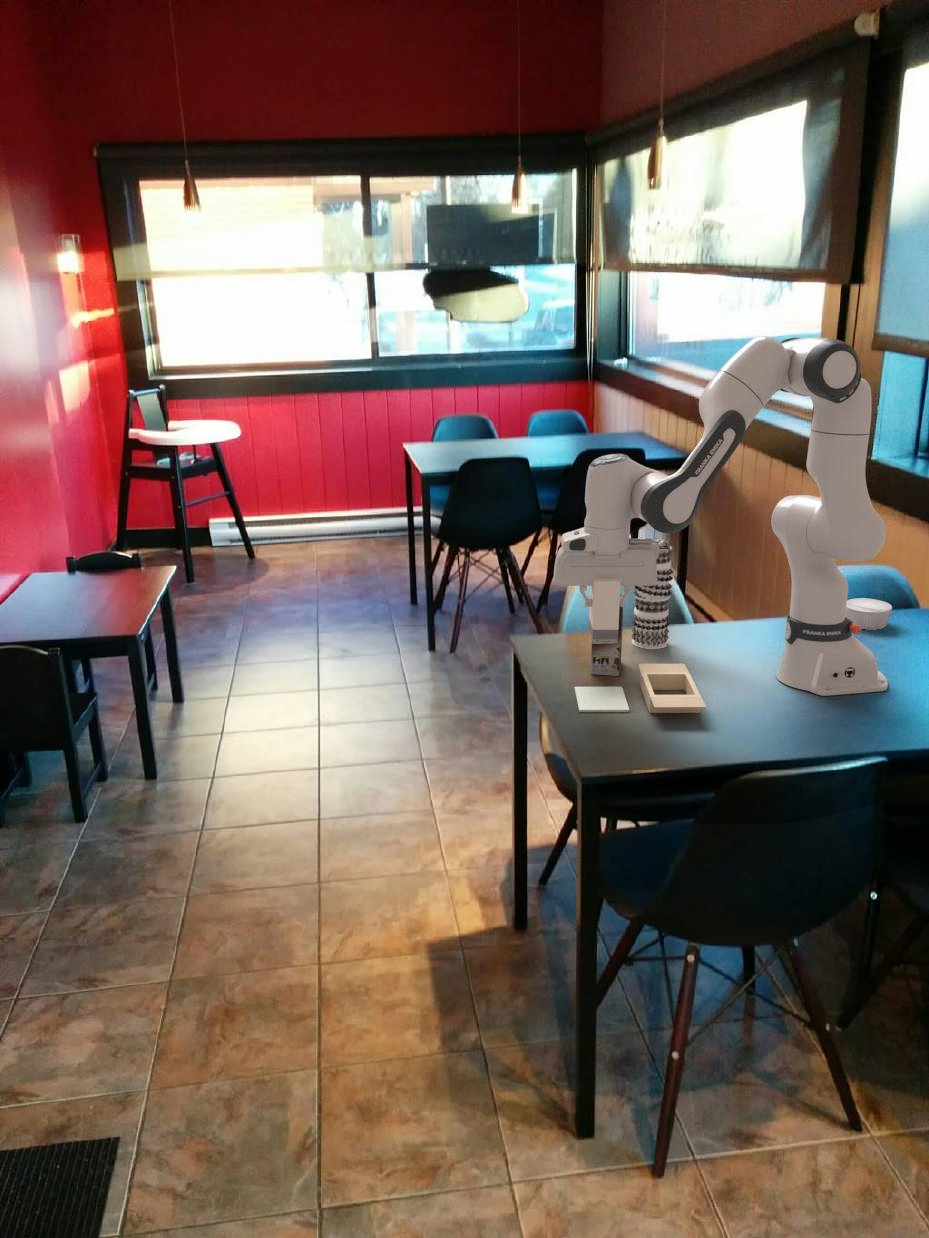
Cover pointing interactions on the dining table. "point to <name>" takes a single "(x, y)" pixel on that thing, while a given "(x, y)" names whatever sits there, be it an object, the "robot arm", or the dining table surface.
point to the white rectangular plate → (601, 699)
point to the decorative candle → (653, 605)
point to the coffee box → (607, 653)
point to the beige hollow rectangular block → (669, 680)
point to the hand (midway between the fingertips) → (604, 606)
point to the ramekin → (868, 613)
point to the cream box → (604, 608)
